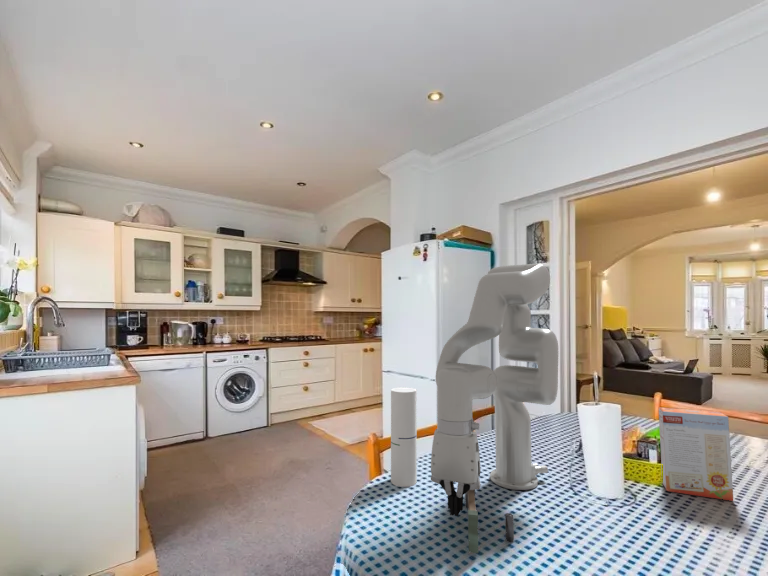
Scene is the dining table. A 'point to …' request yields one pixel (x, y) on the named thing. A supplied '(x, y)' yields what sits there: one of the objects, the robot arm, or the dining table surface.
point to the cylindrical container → (403, 436)
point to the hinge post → (466, 499)
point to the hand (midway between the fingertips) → (455, 512)
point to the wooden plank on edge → (472, 523)
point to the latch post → (509, 527)
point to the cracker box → (696, 452)
